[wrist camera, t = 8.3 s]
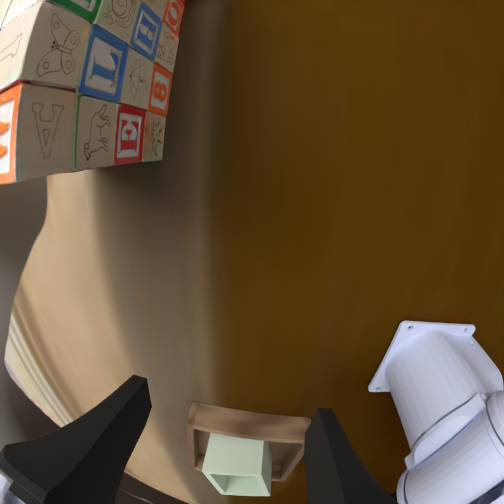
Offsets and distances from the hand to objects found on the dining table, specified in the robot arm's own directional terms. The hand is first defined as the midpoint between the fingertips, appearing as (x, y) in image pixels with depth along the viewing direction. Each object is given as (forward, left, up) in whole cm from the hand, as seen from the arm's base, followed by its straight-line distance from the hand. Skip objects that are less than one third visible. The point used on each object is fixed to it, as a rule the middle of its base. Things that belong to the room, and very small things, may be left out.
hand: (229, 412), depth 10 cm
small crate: (-2, +19, -9) cm, 21 cm away
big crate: (-2, +19, -10) cm, 22 cm away
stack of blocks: (+11, -19, -10) cm, 24 cm away
